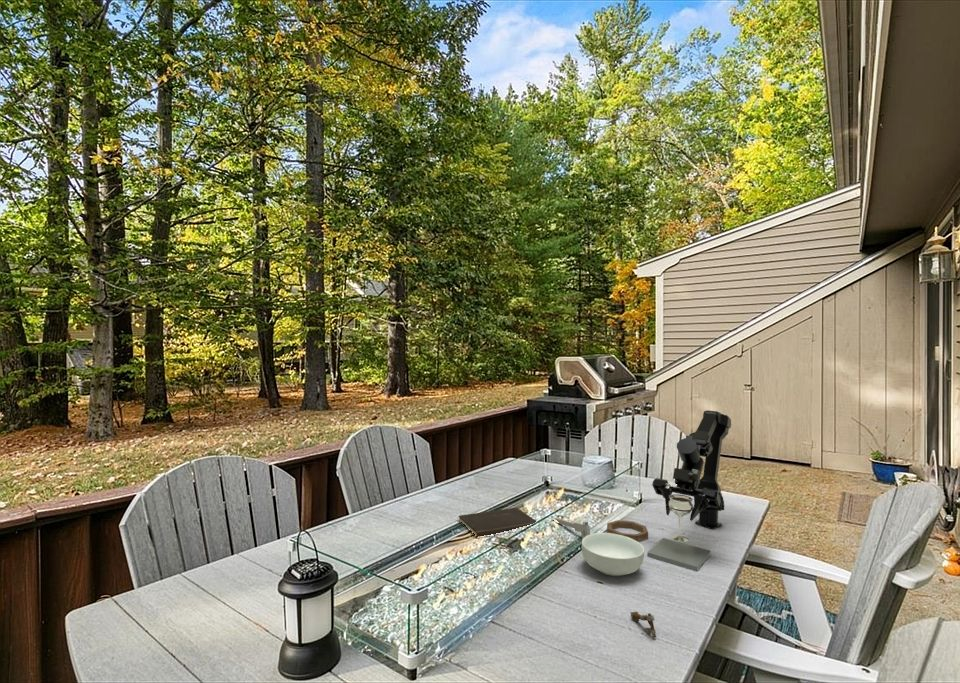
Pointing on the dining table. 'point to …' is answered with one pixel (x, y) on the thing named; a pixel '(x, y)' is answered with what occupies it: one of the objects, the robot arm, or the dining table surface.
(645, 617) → the wooden post with brackets
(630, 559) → the cereal bowl
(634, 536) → the ring holder
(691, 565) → the slate board
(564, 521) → the caliper
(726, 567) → the dining table surface
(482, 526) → the hardcover book
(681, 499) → the wineglass
